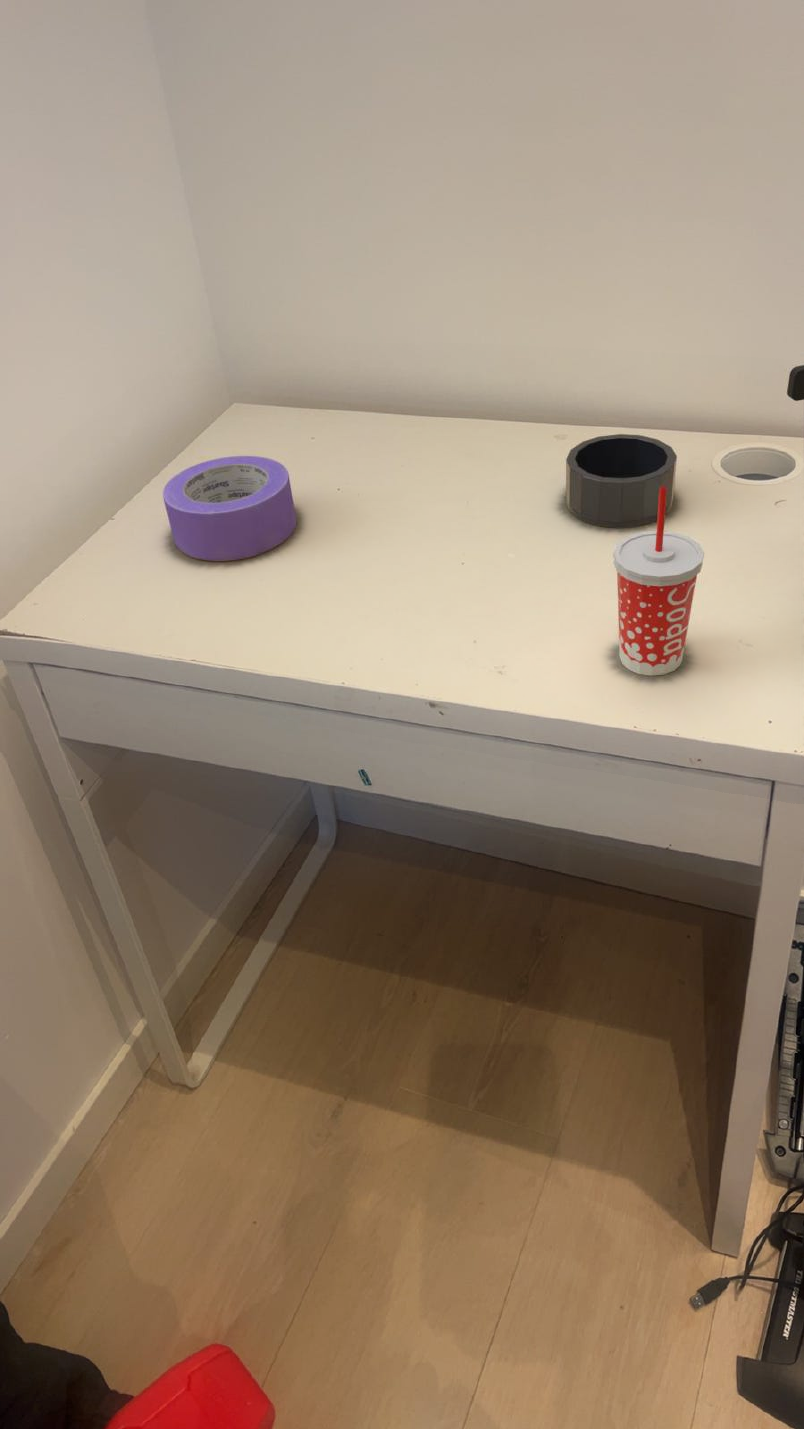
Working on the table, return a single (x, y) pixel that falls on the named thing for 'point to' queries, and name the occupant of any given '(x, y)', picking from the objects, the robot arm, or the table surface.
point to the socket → (619, 480)
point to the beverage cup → (655, 595)
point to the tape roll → (230, 507)
